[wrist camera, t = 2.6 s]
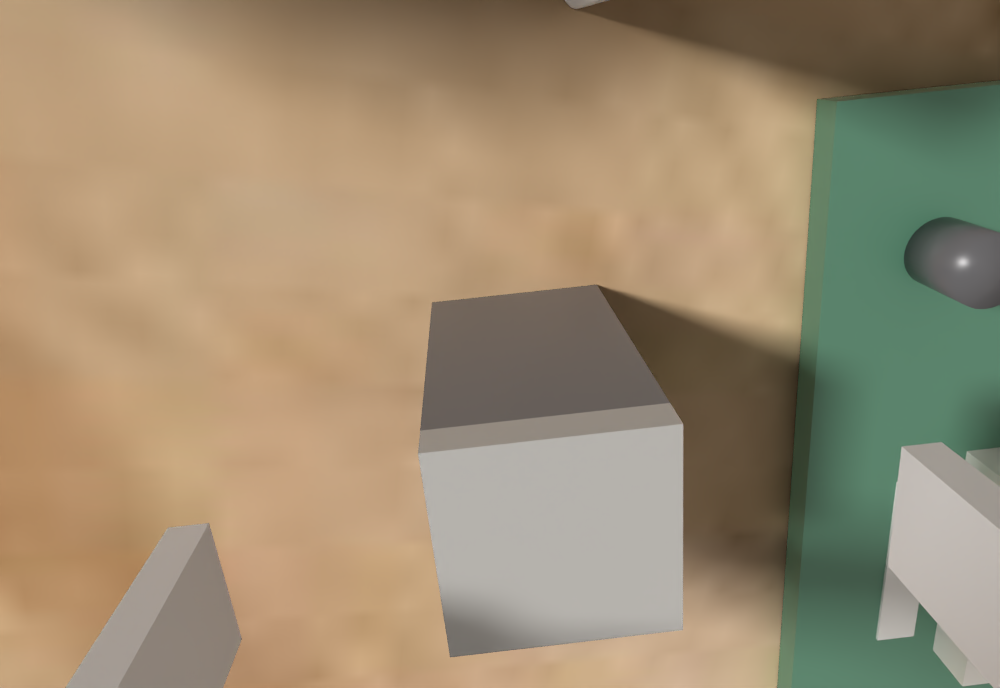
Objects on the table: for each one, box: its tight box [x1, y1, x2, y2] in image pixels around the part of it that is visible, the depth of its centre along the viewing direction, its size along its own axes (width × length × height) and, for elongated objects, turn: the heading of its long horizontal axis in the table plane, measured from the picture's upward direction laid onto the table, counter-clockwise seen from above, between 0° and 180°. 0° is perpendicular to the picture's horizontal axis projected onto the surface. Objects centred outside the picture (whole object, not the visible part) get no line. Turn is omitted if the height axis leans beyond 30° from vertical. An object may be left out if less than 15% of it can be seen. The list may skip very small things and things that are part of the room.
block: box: [418, 285, 683, 657], centre depth 17 cm, size 5×4×8 cm
